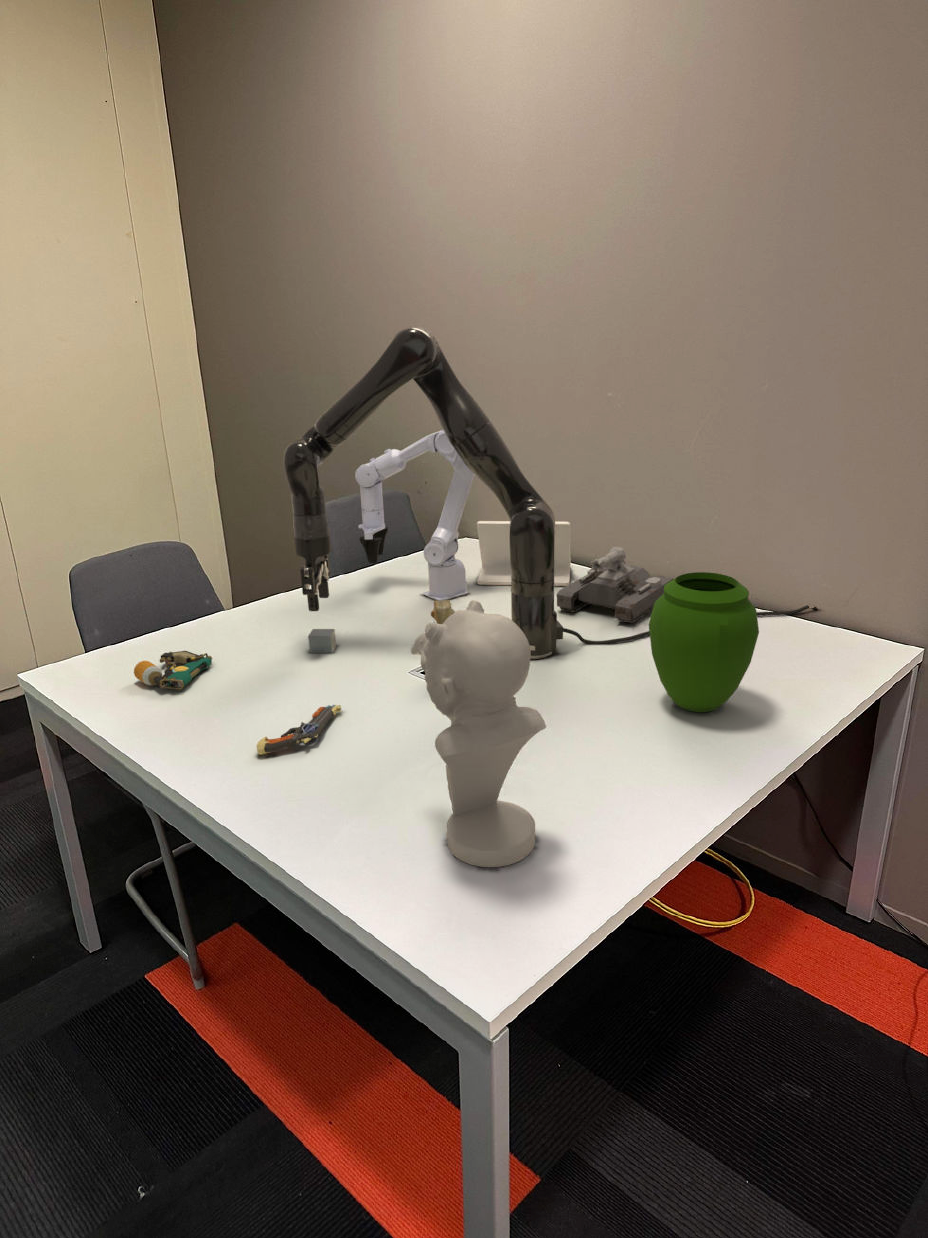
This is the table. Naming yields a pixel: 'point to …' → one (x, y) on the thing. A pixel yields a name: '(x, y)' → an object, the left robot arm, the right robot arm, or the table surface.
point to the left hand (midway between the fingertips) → (375, 558)
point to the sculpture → (441, 611)
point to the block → (322, 640)
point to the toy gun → (299, 731)
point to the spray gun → (172, 669)
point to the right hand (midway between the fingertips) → (319, 604)
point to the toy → (614, 588)
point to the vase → (702, 638)
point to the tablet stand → (498, 553)
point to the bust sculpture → (481, 729)
